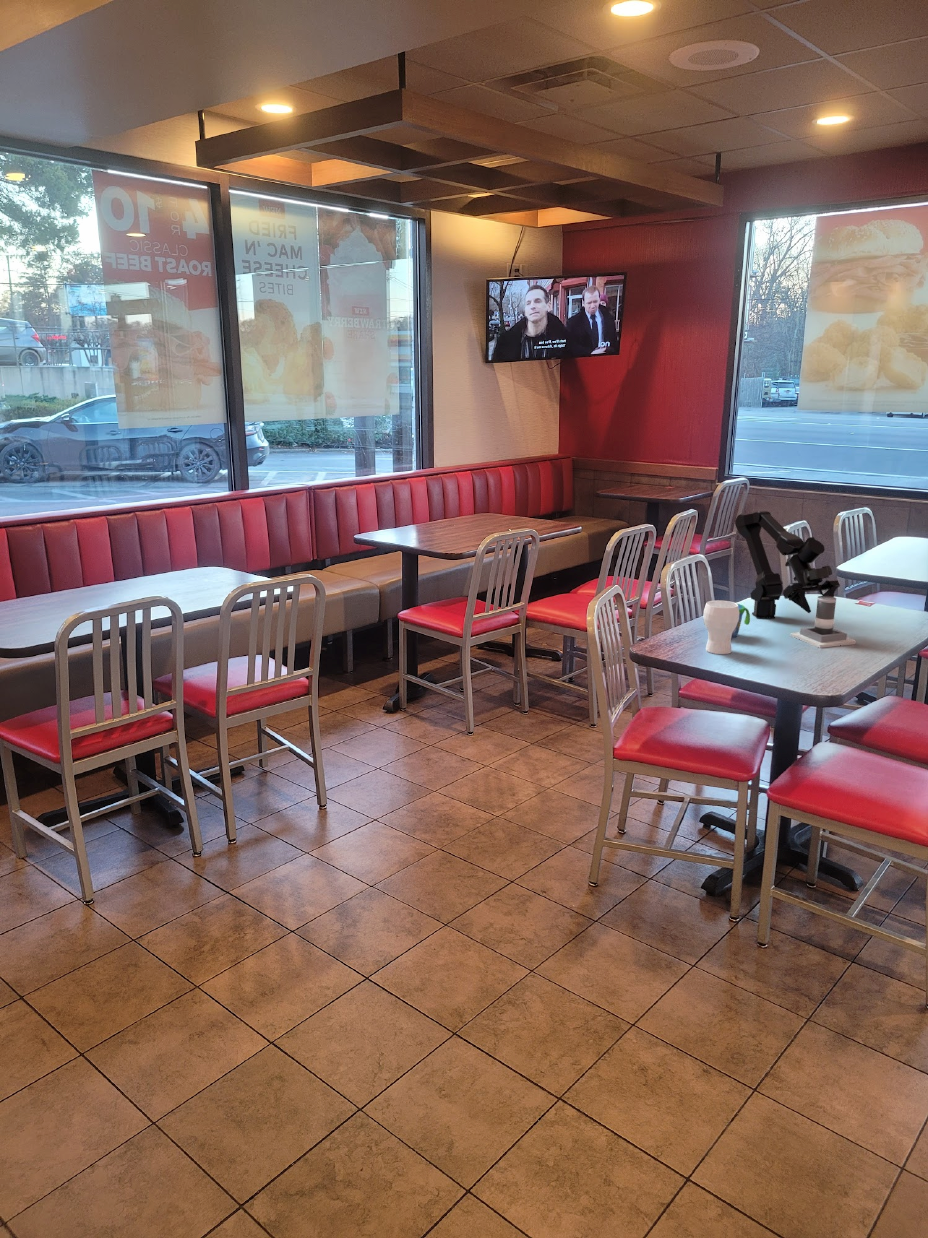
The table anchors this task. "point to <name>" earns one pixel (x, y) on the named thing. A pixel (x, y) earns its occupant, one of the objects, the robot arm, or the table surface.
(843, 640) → the square framed plate
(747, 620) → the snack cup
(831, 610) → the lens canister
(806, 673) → the table surface
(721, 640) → the cup
